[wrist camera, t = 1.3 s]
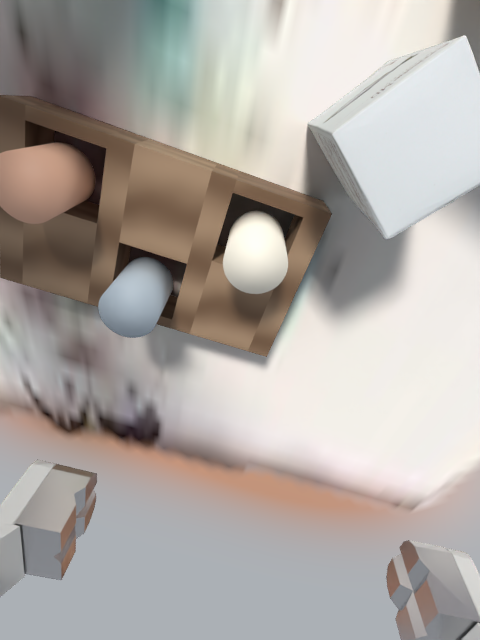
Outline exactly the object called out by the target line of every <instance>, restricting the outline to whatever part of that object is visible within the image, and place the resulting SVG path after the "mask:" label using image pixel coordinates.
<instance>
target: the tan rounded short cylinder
mask: <svg viewBox="0 0 480 640" xmlns="http://www.w3.org/2000/svg"><path fill="white" fill-rule="evenodd" d="M94 188H95V173H94V170H93V167H92V165H91V163H90V161H89V159H88V158H87V157H86V156H85V154H84V153H83V152H81V151H80V150H79V149H78V148H76V147H75V146H73V145H70V144H68V143H63V142H55V143H49V144H43V145H38V146H32V147H27V148H21V149H15V150H10V151H5V152H2V153H0V206H1V208H2V209H3V210H4V211H6V212H7V213H8V214H9V215H10V216H12V217H14V218H15V219H17V220H19V221H22V222H25V223H29V224H40V223H44V222H46V221H48V220H50V219H52V218H54V217H56V216H58V215H60V214H61V213H63V212H65V211H67V210H69V209H71V208H73V207H74V206H76V205H78V204H80V203H82V202H84V201H85V200H87V199H88V198H89V197H90V196H91V194H92V193H93V191H94Z"/></svg>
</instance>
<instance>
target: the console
mask: <svg viewBox="0 0 480 640" xmlns="http://www.w3.org/2000/svg"><path fill="white" fill-rule="evenodd" d="M54 130H55V131H58V132H61V133H64V134H66V135H69V136H72V137H75V138H78V139H81V140H84V141H86V142H89V143H92V144H95V145H98V146H101V147H104V148H106V156H105V164H104V172H103V181H102V189H101V197H100V205H98V204H95V203H92V202H89V201H86V200H85V201H84V202H82V203H80V204H78V205H76V206H74V207H73V208H71V209H69V210H67V211H65V212H63V213H61V214H60V215H58V216H56V217H54V218H52V219H50V220H48V221H46V222H44V223H40V224H29V223H25V222H22V221H19V220H17V219H15V218H14V217H12V216H10V215H9V214H8V213H7V212H6V211H4V210H3V209H2V208H1V206H0V278H3V279H6V280H10V281H13V282H17V283H20V284H23V285H27V286H30V287H33V288H37V289H40V290H44V291H47V292H50V293H54V294H57V295H60V296H64V297H67V298H70V299H74V300H77V301H81V302H84V303H87V304H91V305H94V306H97V307H98V304H99V300H100V298H101V296H102V295H103V293H104V292H105V291H106V290H107V289H108V287H109V286H110V285H111V284H112V283H113V281H114V280H115V279H116V278H117V277H118V276H119V274H120V273H121V272H122V271H123V270H124V268H125V267H126V266H127V265H128V262H129V257H130V251H131V246H133V247H136V248H139V249H142V250H145V251H148V252H151V253H154V254H157V255H161V256H164V257H167V258H170V259H173V260H176V261H179V262H182V263H186V264H187V266H186V269H185V273H184V277H183V280H182V284H181V288H180V292H179V295H178V297H175V296H172V295H170V296H169V298H168V300H167V302H166V305H165V307H164V309H163V311H162V313H161V315H160V317H159V319H158V321H157V323H156V324H158V325H161V326H165V327H168V328H172V329H175V330H178V331H182V332H185V333H188V334H192V335H195V336H198V337H202V338H205V339H209V340H212V341H215V342H219V343H222V344H225V345H229V346H232V347H236V348H239V349H242V350H246V351H249V352H252V353H256V354H259V355H262V356H266V357H267V355H268V353H269V350H270V348H271V346H272V344H273V342H274V340H275V337H276V335H277V333H278V331H279V329H280V326H281V324H282V322H283V320H284V318H285V315H286V313H287V311H288V309H289V307H290V304H291V302H292V300H293V298H294V296H295V294H296V291H297V289H298V287H299V285H300V283H301V280H302V278H303V276H304V274H305V272H306V269H307V267H308V265H309V263H310V261H311V259H312V256H313V254H314V252H315V250H316V248H317V245H318V243H319V241H320V239H321V237H322V234H323V232H324V230H325V228H326V226H327V223H328V221H329V219H330V217H331V215H332V213H331V212H330V210H329V209H328V207H327V206H326V204H325V203H324V201H322V200H319V199H316V198H313V197H311V196H308V195H305V194H302V193H299V192H297V191H294V190H291V189H288V188H285V187H283V186H280V185H277V184H274V183H272V182H269V181H266V180H263V179H260V178H258V177H255V176H252V175H249V174H246V173H244V172H241V171H238V170H235V169H232V168H230V167H227V166H224V165H221V164H219V163H216V162H213V161H210V160H207V159H205V158H202V157H199V156H196V155H193V154H191V153H188V152H185V151H182V150H179V149H177V148H174V147H171V146H168V145H166V144H163V143H160V142H157V141H154V140H152V139H149V138H146V137H143V136H140V135H138V134H135V133H132V132H129V131H126V130H124V129H121V128H118V127H115V126H113V125H110V124H107V123H104V122H101V121H99V120H96V119H93V118H90V117H87V116H85V115H82V114H79V113H76V112H73V111H71V110H68V109H65V108H62V107H60V106H57V105H54V104H51V103H48V102H46V101H43V100H40V99H37V98H34V97H32V96H12V95H0V153H2V152H5V151H10V150H15V149H21V148H27V147H32V146H38V145H43V144H49V143H54ZM233 193H235V194H238V195H241V196H244V197H246V198H249V199H252V200H255V201H258V202H261V203H263V204H266V205H269V206H272V207H275V208H278V209H281V210H283V211H286V212H289V213H292V214H295V215H294V217H293V220H292V222H291V225H290V227H289V229H288V232H287V234H286V237H285V239H284V240H285V246H286V251H287V257H288V269H287V273H286V275H285V277H284V279H283V280H282V282H281V283H280V284H279V285H278V286H277V287H276V288H274V289H272V290H270V291H268V292H265V293H261V294H250V293H246V292H243V291H240V290H239V289H237V288H236V287H234V286H233V285H232V284H231V283H230V282H229V280H228V279H227V277H226V275H225V273H224V269H223V258H224V254H225V250H226V247H225V246H222V245H219V244H217V243H218V240H219V237H220V233H221V230H222V227H223V223H224V220H225V217H226V214H227V210H228V207H229V204H230V201H231V197H232V194H233Z"/></svg>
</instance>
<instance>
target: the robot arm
mask: <svg viewBox="0 0 480 640" xmlns="http://www.w3.org/2000/svg"><path fill="white" fill-rule="evenodd" d="M96 483H97V474H96V473H92V472H88V471H83V470H80V469H75V468H71V467H67V466H63V465H59V464H55V463H50V462H46V461H41V460H36V461H35V462H34V463H32V464H31V465H30V466H29V468H28V469H27V470H26V472H25V473H24V474H23V476H22V477H21V478H20V480H19V481H18V482H17V484H16V485H15V486H14V488H13V489H12V490H11V492H10V493H9V494H8V496H7V497H6V498H5V499H4V501H3V502H2V504H1V505H0V597H1V596H2V595H3V594H5V593H6V592H7V591H8V590H9V589H11V588H12V587H13V586H14V585H15V584H16V583H17V582H19V581H20V580H21V579H22V578H24V576H25V574H29V575H34V576H40V577H46V578H51V579H57V580H62V578H63V576H64V574H65V572H66V570H67V568H68V566H69V564H70V561H71V560H72V558H73V555H74V553H75V551H76V550H75V549H76V539H77V538H78V537H80V536H81V535H82V534H84V532H85V530H86V528H87V526H88V524H89V522H90V519H91V516H92V513H93V510H94V507H95V502H96V493H95V492H94V491H93V489H94V487H95V485H96ZM400 551H401V554H400V555H398V556H396V557H393V558H392V560H391V561H390V563H389V565H388V569H387V576H386V578H387V587H388V591H389V595H390V599H391V600H392V601H393V603H394V604H395V605H396V607H397V608H398V609H399V611H398V613H397V616H396V623H397V627H398V630H399V634H400V638H401V640H480V575H479V573H478V571H477V569H476V567H475V565H474V563H473V561H472V559H471V558H470V556H469V555H468V554H467V553H465V552H462V551H456V550H452V549H446V548H444V547H440V546H435V545H430V544H425V543H420V542H415V541H410V540H408V541H405V542H403V544H402V545H401V546H400Z"/></svg>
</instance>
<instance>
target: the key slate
mask: <svg viewBox="0 0 480 640" xmlns="http://www.w3.org/2000/svg"><path fill="white" fill-rule="evenodd" d="M172 289H173V277H172V274H171V272H170V271H169V269H168V268H167V267H166V266H165V265H164V264H163V263H162V262H160V261H158V260H156V259H154V258H150V257H140V258H136V259H134V260H132V261H131V262H130V263H129V264H128V265H127V266H126V267H125V268H124V270H123V271H122V272H121V273H120V274H119V276H118V277H117V278H116V279H115V280H114V281H113V283H112V284H111V285H110V286H109V287H108V289H107V290H106V291H105V292H104V293H103V295H102V296H101V298H100V300H99V304H98V310H99V314H100V317H101V319H102V321H103V322H104V324H105V325H106V326H107V327H108V328H109V329H110V330H112V331H113V332H115V333H117V334H119V335H121V336H125V337H130V338H136V337H142V336H145V335H147V334H148V333H150V332H151V331H152V330H153V329H154V327H155V325H156V323H157V321H158V319H159V317H160V315H161V313H162V311H163V309H164V307H165V305H166V302H167V300H168V298H169V296H170V294H171V292H172Z"/></svg>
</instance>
